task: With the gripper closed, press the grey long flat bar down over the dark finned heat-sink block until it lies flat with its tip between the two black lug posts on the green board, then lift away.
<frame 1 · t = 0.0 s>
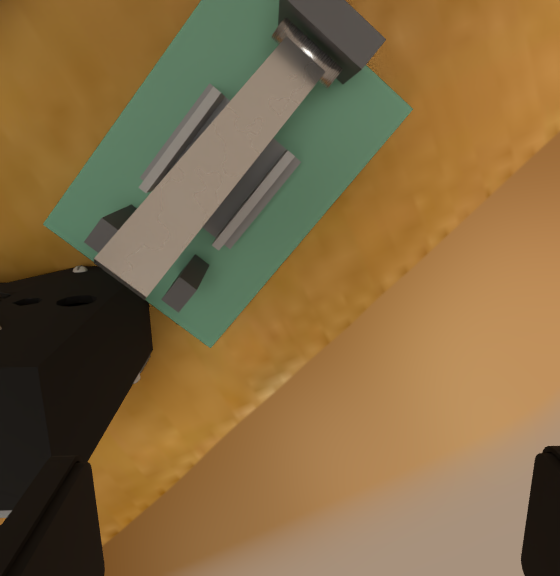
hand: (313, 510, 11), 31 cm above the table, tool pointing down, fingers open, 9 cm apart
electrical component: (46, 317, 43), on the table, touching board
board: (224, 167, 39), on the table
grey long flat bar: (227, 150, 28), point 11 cm above the table, hinge at 32.0°
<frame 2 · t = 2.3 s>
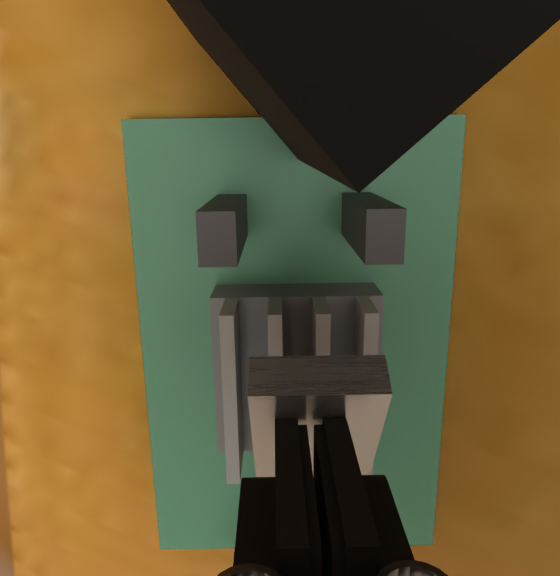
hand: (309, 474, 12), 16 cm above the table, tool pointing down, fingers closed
board: (294, 348, 28), on the table
grey long flat bar: (306, 523, 18), point 11 cm above the table, hinge at 31.5°, touching gripper
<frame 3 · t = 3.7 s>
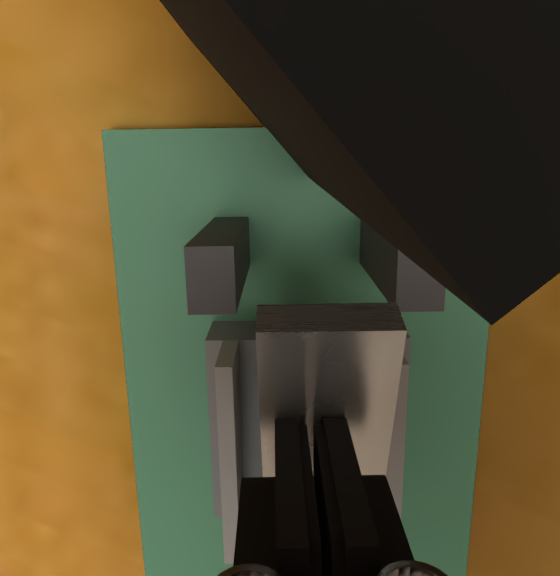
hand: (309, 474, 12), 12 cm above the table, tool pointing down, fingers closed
board: (304, 392, 24), on the table
grey long flat bar: (318, 564, 15), point 10 cm above the table, hinge at 17.5°, touching gripper
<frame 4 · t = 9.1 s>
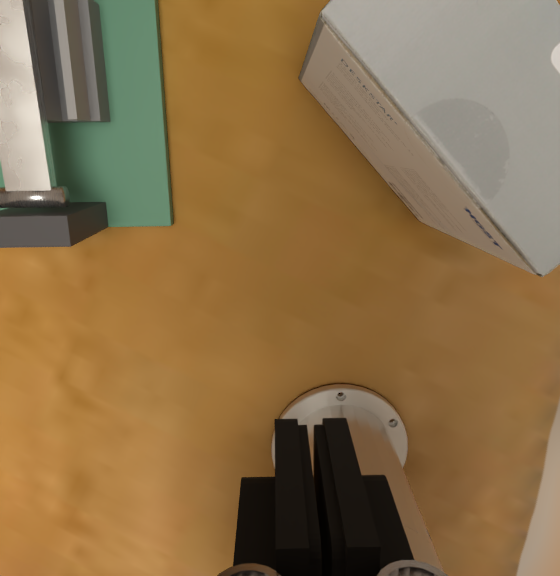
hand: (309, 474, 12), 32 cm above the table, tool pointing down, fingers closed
hard drive box: (395, 118, 41), on the table
board: (57, 67, 39), on the table
grey long flat bar: (10, 62, 32), point 7 cm above the table, hinge at 2.4°
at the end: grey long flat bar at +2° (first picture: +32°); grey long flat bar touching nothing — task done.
